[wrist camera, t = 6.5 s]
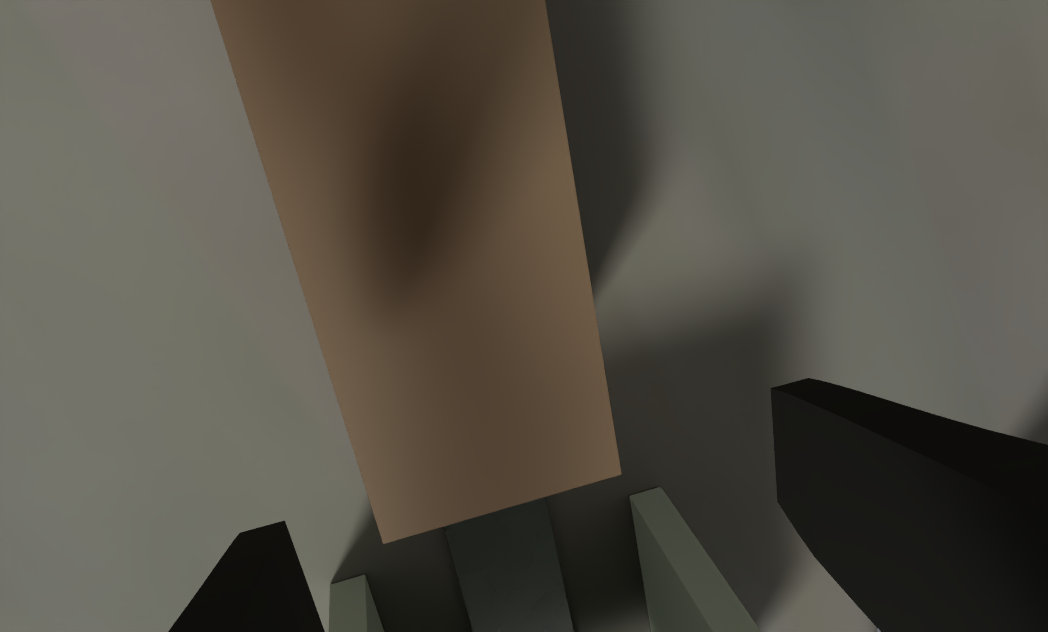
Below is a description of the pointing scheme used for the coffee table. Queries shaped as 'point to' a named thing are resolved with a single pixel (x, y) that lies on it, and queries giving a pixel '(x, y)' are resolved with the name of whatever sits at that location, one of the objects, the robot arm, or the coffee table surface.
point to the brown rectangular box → (433, 243)
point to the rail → (510, 570)
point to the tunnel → (667, 570)
